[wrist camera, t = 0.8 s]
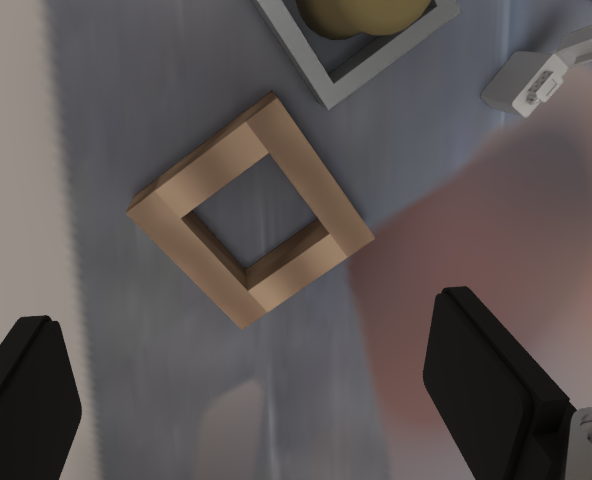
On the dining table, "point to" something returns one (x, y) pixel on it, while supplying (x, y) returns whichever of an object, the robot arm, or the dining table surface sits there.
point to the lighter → (536, 74)
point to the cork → (359, 16)
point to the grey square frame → (359, 65)
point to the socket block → (220, 171)
